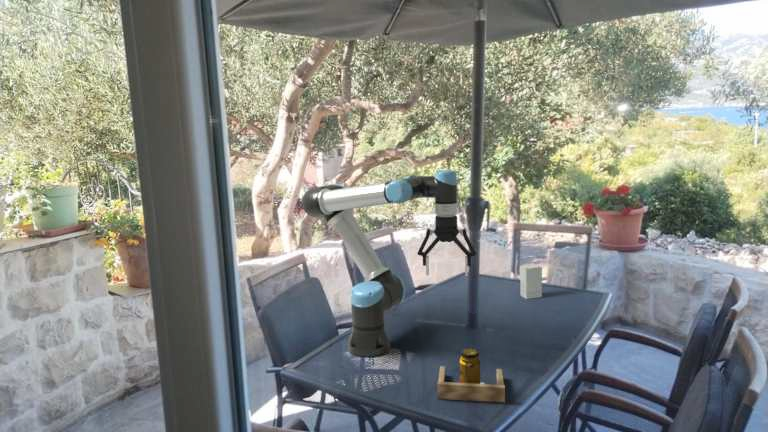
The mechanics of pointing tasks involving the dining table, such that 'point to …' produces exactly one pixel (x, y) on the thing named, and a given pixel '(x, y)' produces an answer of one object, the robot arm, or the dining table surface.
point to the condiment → (470, 367)
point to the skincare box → (531, 281)
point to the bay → (471, 389)
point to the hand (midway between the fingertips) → (446, 274)
